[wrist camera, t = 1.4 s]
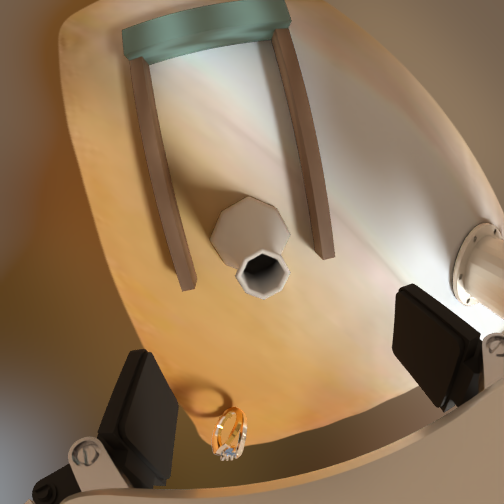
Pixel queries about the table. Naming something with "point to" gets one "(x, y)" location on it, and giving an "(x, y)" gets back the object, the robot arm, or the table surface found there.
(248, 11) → the guide channel
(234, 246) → the flask
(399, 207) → the table surface
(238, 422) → the ring
